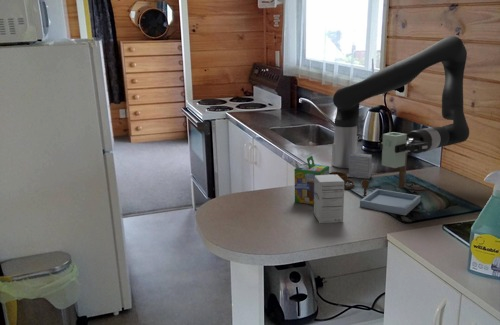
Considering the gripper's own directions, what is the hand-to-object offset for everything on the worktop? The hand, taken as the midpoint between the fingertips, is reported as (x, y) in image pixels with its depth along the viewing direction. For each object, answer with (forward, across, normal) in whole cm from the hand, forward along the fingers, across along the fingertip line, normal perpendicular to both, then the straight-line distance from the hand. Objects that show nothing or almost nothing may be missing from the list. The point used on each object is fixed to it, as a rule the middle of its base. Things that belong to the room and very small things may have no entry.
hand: (388, 147), depth 145 cm
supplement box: (+22, -3, +19) cm, 29 cm away
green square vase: (-3, 0, +6) cm, 7 cm away
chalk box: (+15, -18, +19) cm, 30 cm away
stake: (-20, -10, +19) cm, 29 cm away
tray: (-2, 0, +19) cm, 19 cm away
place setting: (-2, -22, +20) cm, 30 cm away
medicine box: (-19, -28, +19) cm, 39 cm away
